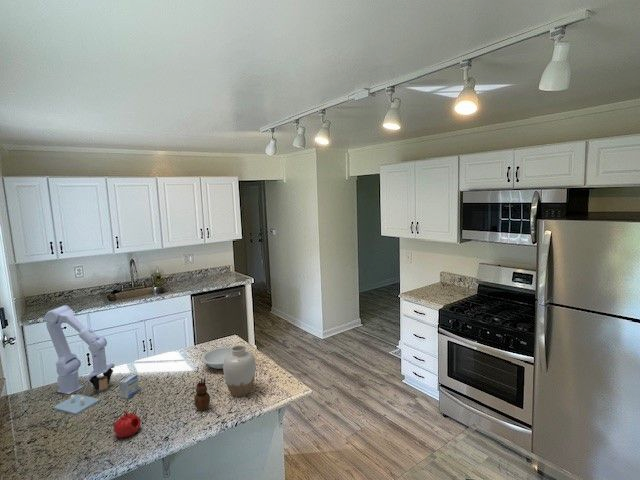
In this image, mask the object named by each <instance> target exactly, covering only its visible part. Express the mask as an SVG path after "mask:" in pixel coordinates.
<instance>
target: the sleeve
mask: <svg viewBox="0 0 640 480" xmlns="http://www.w3.org/2000/svg"><path fill="white" fill-rule="evenodd" d="M98 378H100V379H99V390H95V392H96V393H98V392H99V393H104V392H106V391H108V390H109V384H108V378H107V376H104V375H102V376H98Z"/></svg>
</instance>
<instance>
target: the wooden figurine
mask: <svg viewBox="0 0 640 480" xmlns="http://www.w3.org/2000/svg"><path fill="white" fill-rule="evenodd" d="M195 387H196V388H195V393H196V394H195V395H194V398H193V399H194V400H193V401H194V405H195V408H196V409H197V410H198V411H206V410H208V408H209V406H210V404H211V403H210V402H211V398H210V394H209V393H208V392H207V391H208V387H207V385H206V377H204V379H203V378H200V380H198V382H197V383H196V386H195ZM205 409H206V410H205Z"/></svg>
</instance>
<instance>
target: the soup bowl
mask: <svg viewBox="0 0 640 480" xmlns="http://www.w3.org/2000/svg"><path fill="white" fill-rule="evenodd" d="M234 346H235V345H234ZM234 346H232V345H231V346H220V347H216V348H212V349H210V350H207V351H206V352H205V353H203V355H202V356H201V361H202V362H203V363H204V364H206V365H208V367H210V368H212V369H215V370H216V369H217V370H218V369H219V370H220V369H221V370H223V363H224V360H225V358H226V356H227V355H229V354H230V353H232V351H231V349H232V347H234Z"/></svg>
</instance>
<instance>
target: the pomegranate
mask: <svg viewBox="0 0 640 480" xmlns="http://www.w3.org/2000/svg"><path fill="white" fill-rule="evenodd" d="M119 417H120V418H119ZM117 418H118V419H117V420H116V421H115V422H114V424H113V432H114V433H115V435H116V436H117V437H119V438H128V437H131V436H133V435H135V434H137V432H138V431H139V429H140V426H141V421H142V420H141V417H139V416H138V415H137V414H136V412H131V413H130V412H128V410H125V411H124V415H118V416H117Z"/></svg>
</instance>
